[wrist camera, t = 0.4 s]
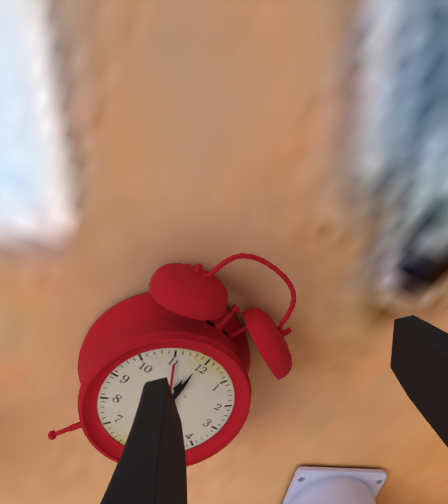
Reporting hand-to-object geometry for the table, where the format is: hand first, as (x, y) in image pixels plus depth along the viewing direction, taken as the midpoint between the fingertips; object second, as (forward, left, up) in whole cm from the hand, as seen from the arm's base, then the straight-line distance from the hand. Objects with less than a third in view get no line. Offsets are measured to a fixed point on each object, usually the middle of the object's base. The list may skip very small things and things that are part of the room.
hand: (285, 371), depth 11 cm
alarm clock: (-7, +1, -11) cm, 13 cm away
